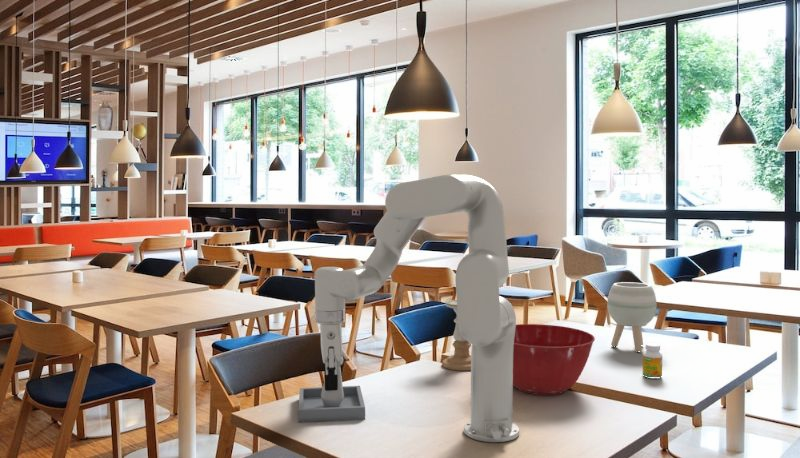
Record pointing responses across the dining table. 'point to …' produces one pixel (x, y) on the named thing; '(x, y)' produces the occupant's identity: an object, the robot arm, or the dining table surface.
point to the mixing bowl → (549, 357)
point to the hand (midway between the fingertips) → (331, 386)
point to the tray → (316, 411)
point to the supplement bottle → (652, 361)
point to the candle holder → (458, 347)
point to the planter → (631, 309)
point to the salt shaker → (333, 396)
